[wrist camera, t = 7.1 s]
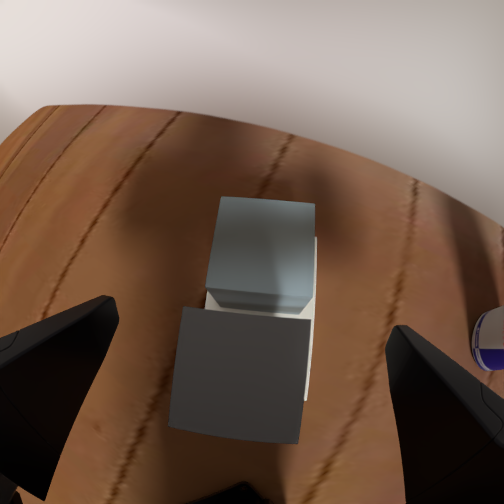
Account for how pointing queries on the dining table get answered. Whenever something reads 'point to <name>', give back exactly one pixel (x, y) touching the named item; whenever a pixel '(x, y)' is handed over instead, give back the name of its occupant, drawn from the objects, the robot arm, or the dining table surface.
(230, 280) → the cube
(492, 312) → the energy drink
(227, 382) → the white base grey pillars
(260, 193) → the dining table surface
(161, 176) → the dining table surface
